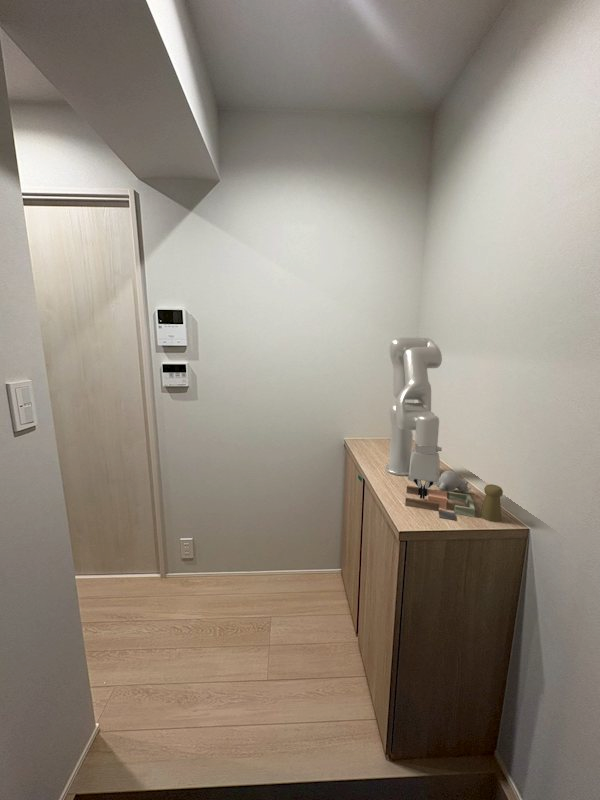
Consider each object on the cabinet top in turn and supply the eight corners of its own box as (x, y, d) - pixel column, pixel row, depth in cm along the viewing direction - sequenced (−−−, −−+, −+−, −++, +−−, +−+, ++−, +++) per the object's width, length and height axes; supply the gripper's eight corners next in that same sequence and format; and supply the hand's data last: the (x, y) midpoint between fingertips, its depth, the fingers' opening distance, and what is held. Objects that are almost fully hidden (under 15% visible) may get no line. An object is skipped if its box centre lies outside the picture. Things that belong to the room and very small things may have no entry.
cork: (476, 513, 110) (479, 482, 109) (493, 512, 111) (496, 482, 109) (487, 522, 104) (491, 490, 103) (505, 521, 105) (509, 489, 103)
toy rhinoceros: (467, 504, 123) (478, 485, 121) (437, 490, 123) (448, 471, 122) (461, 495, 130) (471, 477, 128) (433, 482, 130) (443, 464, 129)
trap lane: (407, 486, 131) (407, 480, 131) (467, 495, 124) (468, 489, 123) (404, 511, 110) (404, 504, 110) (476, 524, 103) (477, 516, 103)
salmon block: (428, 499, 120) (429, 489, 120) (446, 502, 118) (446, 492, 117) (427, 506, 115) (428, 495, 114) (446, 509, 113) (447, 499, 112)
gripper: (447, 448, 117) (443, 496, 120) (404, 444, 122) (401, 490, 125) (449, 454, 110) (445, 505, 113) (403, 449, 115) (400, 498, 118)
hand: (422, 497), depth 119 cm, fingers closed
